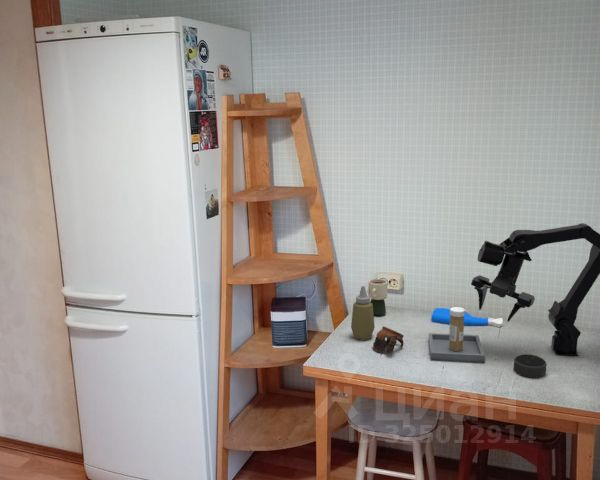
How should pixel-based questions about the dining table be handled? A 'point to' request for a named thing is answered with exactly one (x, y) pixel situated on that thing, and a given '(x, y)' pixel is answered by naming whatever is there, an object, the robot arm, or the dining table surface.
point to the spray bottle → (444, 317)
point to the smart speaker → (530, 365)
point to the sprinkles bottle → (456, 328)
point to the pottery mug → (391, 340)
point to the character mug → (378, 295)
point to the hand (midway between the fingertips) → (493, 315)
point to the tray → (468, 354)
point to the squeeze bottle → (362, 316)
